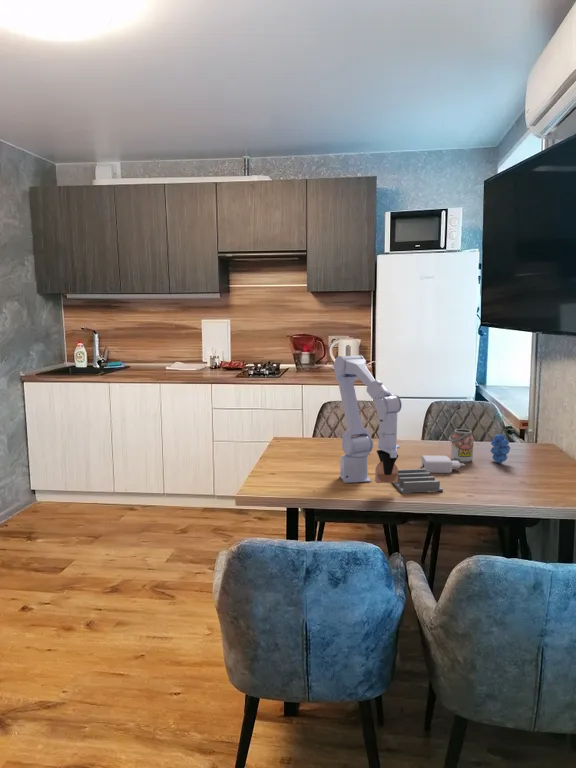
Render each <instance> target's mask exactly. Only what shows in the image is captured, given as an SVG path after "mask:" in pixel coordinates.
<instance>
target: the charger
mask: <svg viewBox="0 0 576 768" xmlns="http://www.w3.org/2000/svg"><path fill="white" fill-rule="evenodd" d="M423 466H424V467H423ZM461 466H462V467H463V466H466V463H460V462H459V461H453V460H452V459H450V457H449V456H447V455H424V454H423V455H421V469H426V473H427V472H429V473H430V474H451V473H452V472H453V469H460V468H461Z"/></svg>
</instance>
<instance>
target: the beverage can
mask: <svg viewBox="0 0 576 768" xmlns="http://www.w3.org/2000/svg"><path fill="white" fill-rule="evenodd" d="M448 440H449V442H451V450H450V451H451V454H450V456H451V461H459V463H464V464H467V463H471V462H472V461H473V459H474V443H475V442H474V440H475V438H474V436H473V432H472V430H470V429H465V428H457V429H454V431H453V433H452V434H450V435H449V437H448Z"/></svg>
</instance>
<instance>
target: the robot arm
mask: <svg viewBox="0 0 576 768" xmlns="http://www.w3.org/2000/svg"><path fill="white" fill-rule="evenodd" d="M332 366H333V370H334V375H335V380H336V381H337V382H338V388H339V392H340V398H341V403H342V407H343V408H342V409H343V413H344V418H345V423H346V424H345V425H346V427H347V429H346V430H344V432H343V433H342V435H341V439H342V441H341V448H342V451H343V453H344V454H342V455H341V456H340V459H339V461H340V463H339V464H340V468H339V469H340V470H339V471H340V473H339V477H340V478H341V480H342V482H343V483H345V484H347V483H350V484H351V483H369V482H372V480H371V479H370V477H369V476H368V473H369V472H368V471H369V469H368V465H369V463H368V462H369V461H368V460H369V459H368V458H369V457H368V456H369V455H371V454H370V453H371V452H372V451H373V448H374V441H373V439H372V437H371V435H370V430H368V429H367V428H365V427H364V426H363V424H362V420H361V414H360V409H359V405H358V400H357V394H356V390H355V385H354V383H355V381H356V380H358V379H359V380H360V381H361V382H362V383H363V384H364V385H365V386H366V392H367V394H368V395H369V396H370V398H371V399H372V400H373V402H374V403H375V409H376V414H377V419H378V440H377V441H378V444H377V448H378V450H376V454H377V456H378V458H379V463H380V462H381V461H383V468H384V474H385V475H391V474H392V470H393V467H394V464H395V463H396V462H397V459H398V458H399V455H398V449H401V445H399V444H397V440H398V439H397V438H398V434H397V433H398V413H400V411H401V410H402V399H401V398H400V396H399V395H397V394H393V393H391V392H390V391H389V390H388V388H387V387H386V385H384V384H383V381H381V380H378V379H375V378H374V376H373V374H372V373H371V372H370V370H369V369H368V367H367V360H366V359H365V357H364V356H363V355H362V354H357V355H345V356H342V355H338V356H336V358H335V360H334V363H333V365H332ZM395 465H396V464H395Z"/></svg>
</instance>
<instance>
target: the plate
mask: <svg viewBox="0 0 576 768" xmlns="http://www.w3.org/2000/svg"><path fill="white" fill-rule="evenodd" d="M398 470H399V468H398V466H397V465H396V464H394V467H393V470H392V474H391V475H385V474H384V468H383V461H381V462H380V461H379V462H378V463H377V465H376V467H375V476H374V478H375V479H374V481H375V483H376V484H386V483H388V484H389V483H391V484H392V482H398Z"/></svg>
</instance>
